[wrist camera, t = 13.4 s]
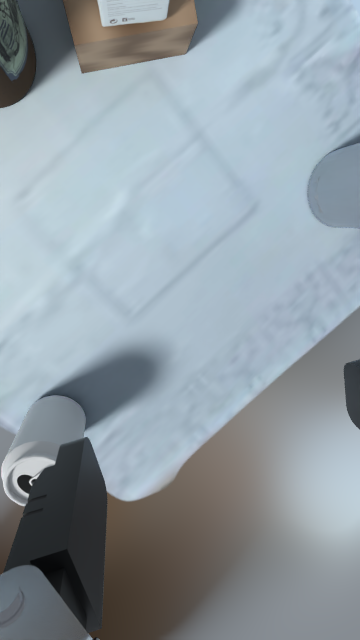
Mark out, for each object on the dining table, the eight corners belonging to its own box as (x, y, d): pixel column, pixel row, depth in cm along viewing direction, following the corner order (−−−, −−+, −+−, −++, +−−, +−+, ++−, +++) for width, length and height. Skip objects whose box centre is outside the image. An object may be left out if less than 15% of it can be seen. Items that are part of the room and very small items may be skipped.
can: (14, 414, 44) (-23, 482, 33) (61, 381, 44) (40, 437, 33) (53, 452, 47) (31, 527, 35) (98, 420, 46) (91, 486, 35)
